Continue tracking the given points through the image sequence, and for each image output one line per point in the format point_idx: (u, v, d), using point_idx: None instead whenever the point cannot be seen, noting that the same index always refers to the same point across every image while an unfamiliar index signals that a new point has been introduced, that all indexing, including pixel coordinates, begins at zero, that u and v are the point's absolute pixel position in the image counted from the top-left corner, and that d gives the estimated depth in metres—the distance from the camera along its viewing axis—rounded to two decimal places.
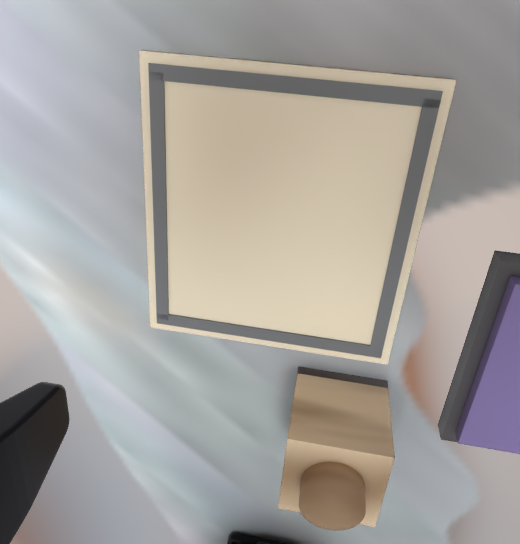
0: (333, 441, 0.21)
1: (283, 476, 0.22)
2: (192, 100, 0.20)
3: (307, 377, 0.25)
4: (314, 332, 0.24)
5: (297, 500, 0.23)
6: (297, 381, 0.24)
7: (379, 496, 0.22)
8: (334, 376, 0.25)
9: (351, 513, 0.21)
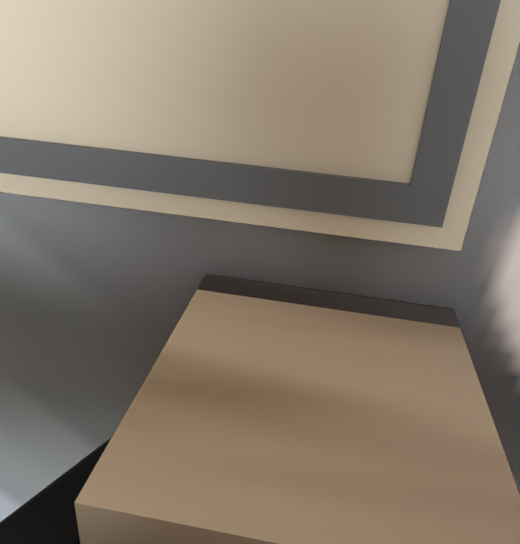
0: (275, 512, 0.05)
1: None
2: None
3: (223, 299, 0.09)
4: (237, 148, 0.08)
5: None
6: (190, 307, 0.08)
7: None
8: (301, 298, 0.09)
9: None
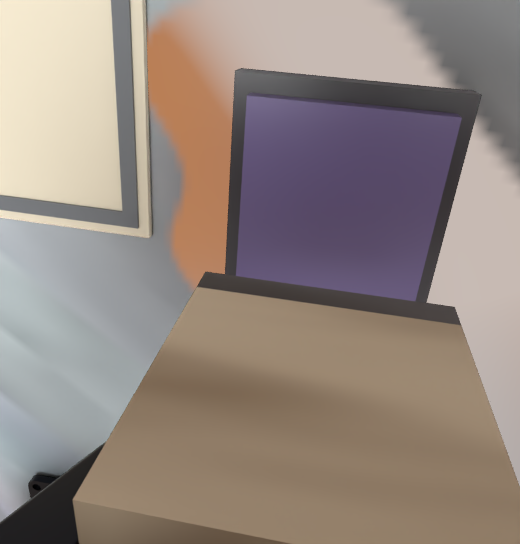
0: (275, 508, 0.05)
1: None
2: None
3: (223, 296, 0.08)
4: (56, 196, 0.19)
5: None
6: (190, 305, 0.08)
7: None
8: (301, 296, 0.09)
9: None
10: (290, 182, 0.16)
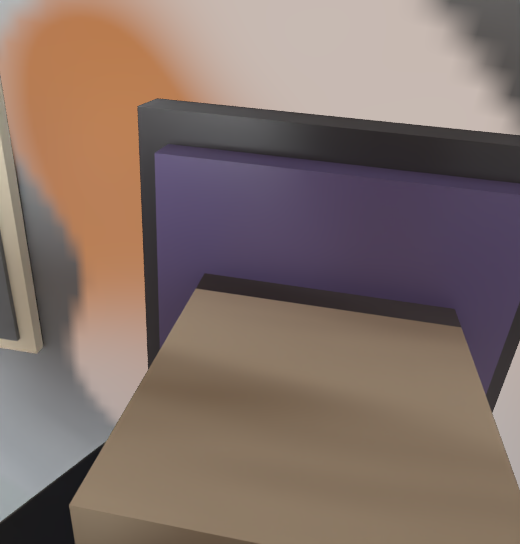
0: (273, 516, 0.05)
1: None
2: None
3: (222, 298, 0.08)
4: None
5: None
6: (188, 307, 0.08)
7: None
8: (301, 297, 0.09)
9: None
10: None
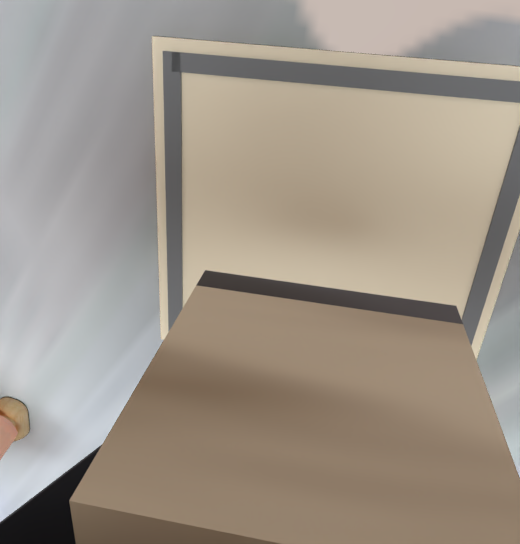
0: (275, 511, 0.05)
1: None
2: None
3: (222, 295, 0.08)
4: (493, 187, 0.17)
5: None
6: (189, 303, 0.08)
7: None
8: (301, 295, 0.09)
9: None
10: None
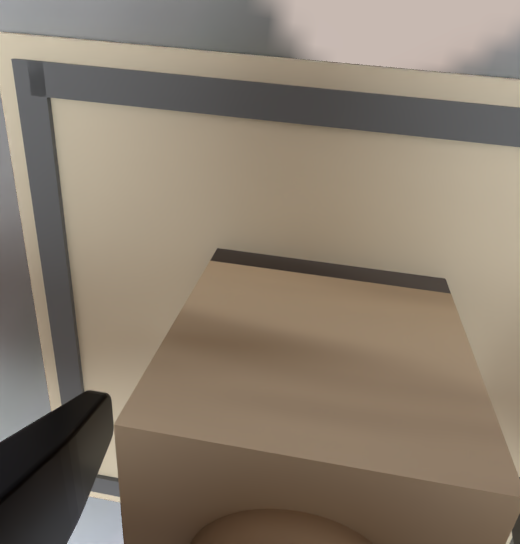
0: (286, 433, 0.06)
1: None
2: (113, 447, 0.13)
3: (234, 268, 0.09)
4: None
5: None
6: (204, 275, 0.09)
7: None
8: (305, 268, 0.10)
9: None
10: None
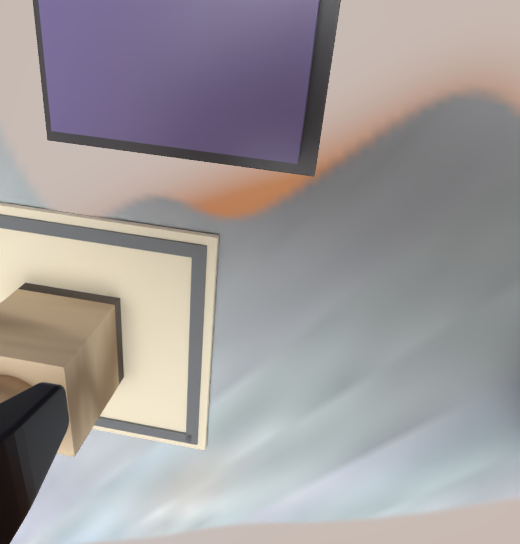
0: (2, 350, 0.18)
1: None
2: None
3: (26, 292, 0.22)
4: (185, 311, 0.22)
5: None
6: (10, 296, 0.21)
7: None
8: (58, 292, 0.22)
9: None
10: (118, 91, 0.17)
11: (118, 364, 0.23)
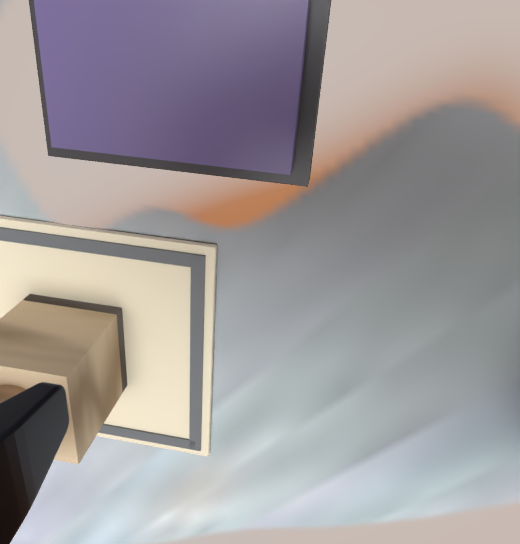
0: (7, 360, 0.19)
1: None
2: None
3: (30, 303, 0.22)
4: (185, 319, 0.22)
5: None
6: (15, 307, 0.22)
7: (69, 425, 0.19)
8: (62, 303, 0.23)
9: None
10: (115, 108, 0.17)
11: (121, 372, 0.24)
